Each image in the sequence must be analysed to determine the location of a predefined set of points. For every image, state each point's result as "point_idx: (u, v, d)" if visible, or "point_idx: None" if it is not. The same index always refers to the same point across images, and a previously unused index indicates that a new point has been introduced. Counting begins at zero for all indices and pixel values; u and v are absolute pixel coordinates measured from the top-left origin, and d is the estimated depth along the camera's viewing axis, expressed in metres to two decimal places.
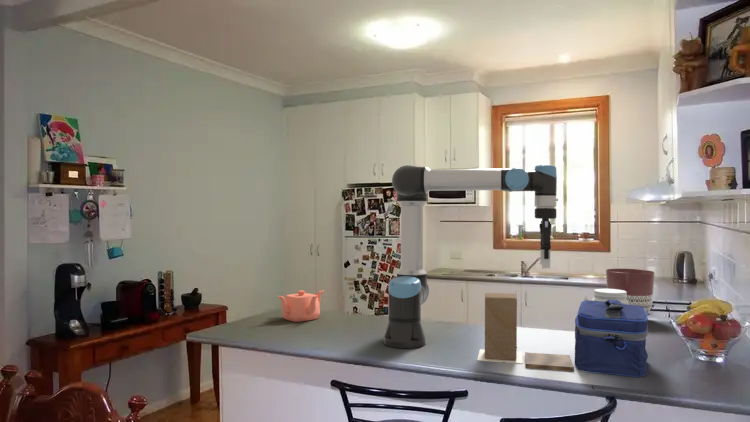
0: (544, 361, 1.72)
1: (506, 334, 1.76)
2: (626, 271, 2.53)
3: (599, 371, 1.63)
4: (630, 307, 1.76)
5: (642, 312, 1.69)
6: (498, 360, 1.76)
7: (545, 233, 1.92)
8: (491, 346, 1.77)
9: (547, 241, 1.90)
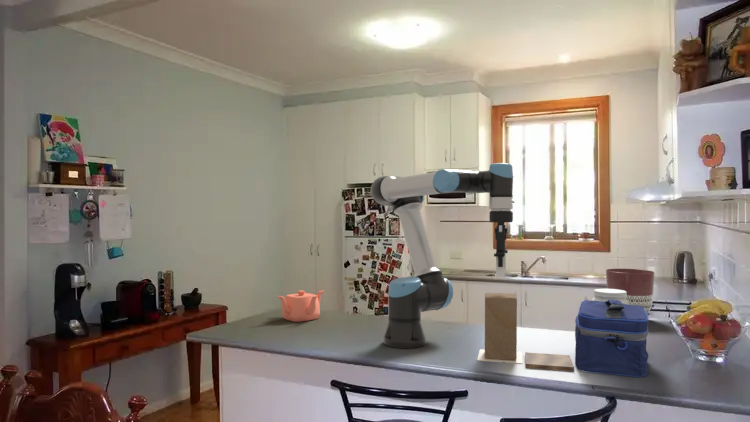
0: (544, 361, 1.72)
1: (506, 334, 1.76)
2: (626, 271, 2.53)
3: (600, 371, 1.63)
4: (630, 307, 1.76)
5: (642, 312, 1.69)
6: (498, 360, 1.76)
7: (498, 239, 1.74)
8: (491, 346, 1.77)
9: (501, 247, 1.72)
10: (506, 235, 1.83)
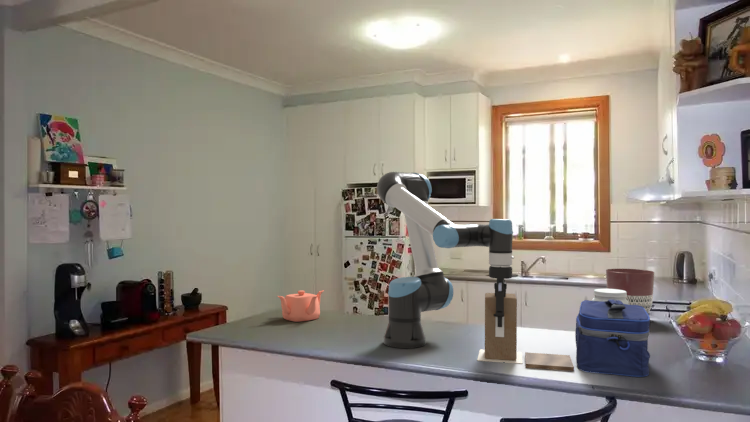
0: (544, 361, 1.72)
1: (506, 334, 1.76)
2: (626, 271, 2.53)
3: (602, 371, 1.63)
4: (630, 307, 1.76)
5: (643, 312, 1.69)
6: (498, 360, 1.76)
7: (498, 299, 1.75)
8: (491, 346, 1.77)
9: (500, 308, 1.74)
10: None
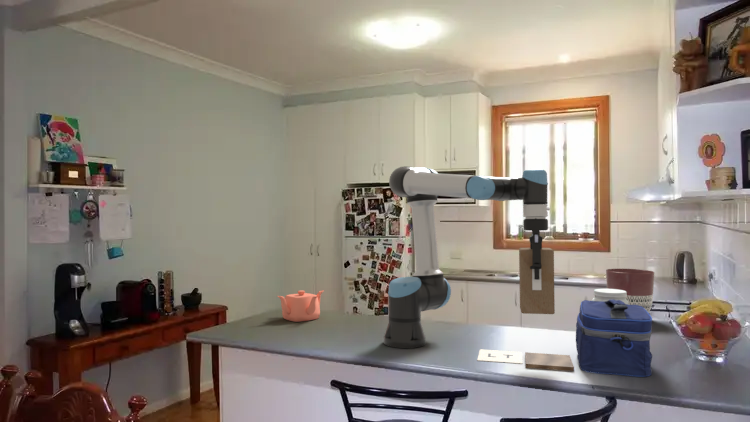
0: (544, 361, 1.72)
1: (543, 287, 1.70)
2: (626, 271, 2.53)
3: (605, 372, 1.63)
4: (631, 307, 1.76)
5: (644, 312, 1.69)
6: (498, 360, 1.76)
7: (534, 250, 1.69)
8: (527, 300, 1.71)
9: (537, 259, 1.68)
10: None
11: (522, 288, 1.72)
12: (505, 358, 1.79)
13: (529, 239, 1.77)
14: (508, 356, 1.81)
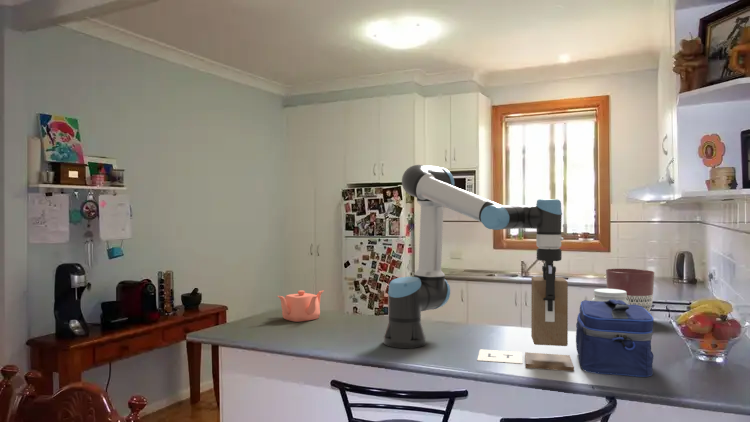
0: (544, 361, 1.72)
1: (557, 319, 1.69)
2: (626, 271, 2.53)
3: (607, 372, 1.63)
4: (631, 307, 1.76)
5: (645, 312, 1.70)
6: (498, 360, 1.76)
7: (548, 282, 1.67)
8: (540, 331, 1.70)
9: (551, 291, 1.66)
10: None
11: (535, 319, 1.70)
12: (505, 358, 1.79)
13: (542, 269, 1.75)
14: (508, 356, 1.81)
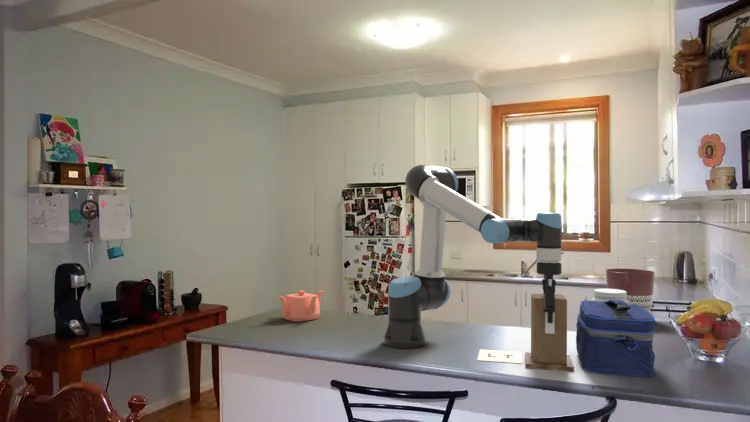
0: None
1: (556, 337, 1.69)
2: (626, 271, 2.53)
3: (609, 372, 1.62)
4: (631, 307, 1.77)
5: (646, 312, 1.70)
6: (498, 360, 1.76)
7: (548, 294, 1.66)
8: (539, 349, 1.70)
9: (551, 303, 1.65)
10: None
11: (534, 337, 1.70)
12: (505, 358, 1.79)
13: (542, 282, 1.75)
14: (508, 356, 1.81)
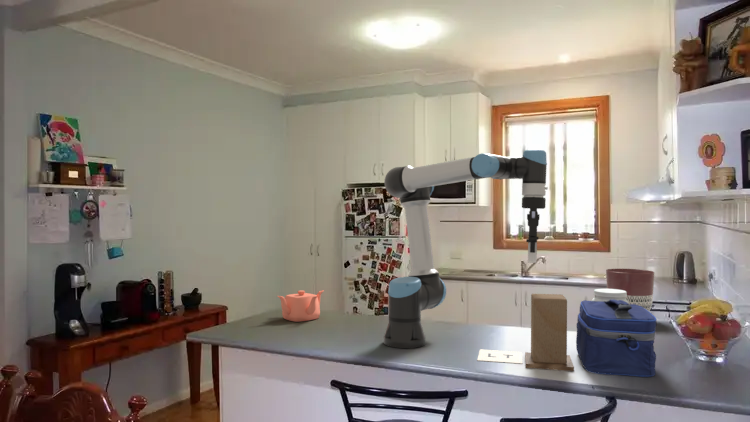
0: None
1: (556, 337, 1.69)
2: (626, 271, 2.53)
3: (611, 372, 1.62)
4: (631, 307, 1.77)
5: (646, 311, 1.70)
6: (498, 360, 1.76)
7: (531, 225, 1.75)
8: (539, 349, 1.70)
9: (533, 233, 1.74)
10: None
11: (534, 337, 1.70)
12: (505, 358, 1.79)
13: None
14: (508, 356, 1.81)
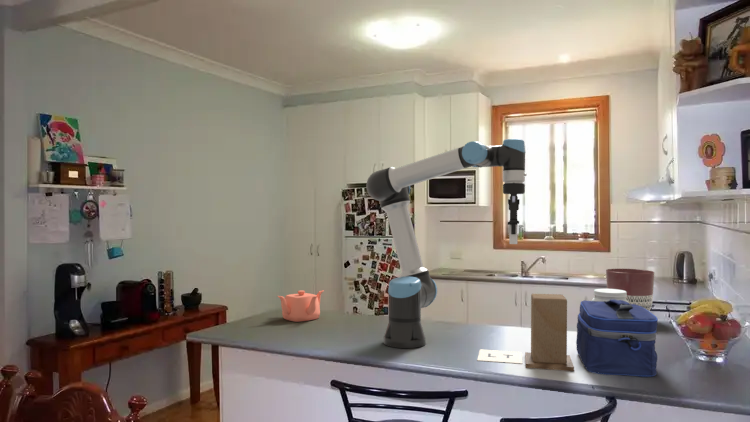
0: None
1: (556, 337, 1.69)
2: (626, 271, 2.53)
3: (612, 373, 1.62)
4: (631, 306, 1.77)
5: (647, 311, 1.70)
6: (498, 360, 1.76)
7: (512, 208, 1.87)
8: (539, 349, 1.70)
9: (514, 216, 1.86)
10: None
11: (534, 337, 1.70)
12: (505, 358, 1.79)
13: None
14: (508, 356, 1.81)
